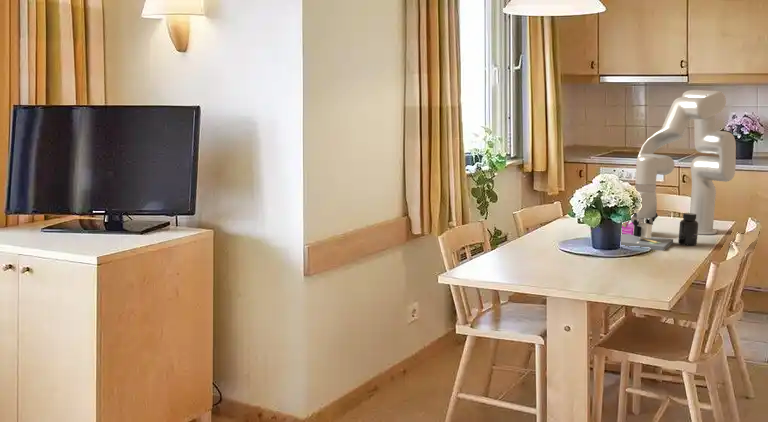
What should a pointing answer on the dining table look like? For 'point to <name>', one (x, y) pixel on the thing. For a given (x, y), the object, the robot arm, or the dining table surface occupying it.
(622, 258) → the dining table surface
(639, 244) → the slate dial board
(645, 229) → the white ice pop
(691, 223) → the supplement bottle
